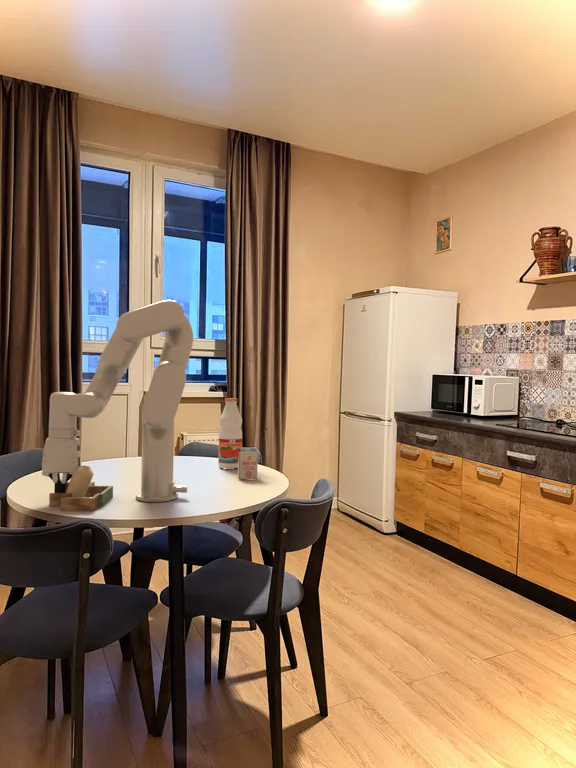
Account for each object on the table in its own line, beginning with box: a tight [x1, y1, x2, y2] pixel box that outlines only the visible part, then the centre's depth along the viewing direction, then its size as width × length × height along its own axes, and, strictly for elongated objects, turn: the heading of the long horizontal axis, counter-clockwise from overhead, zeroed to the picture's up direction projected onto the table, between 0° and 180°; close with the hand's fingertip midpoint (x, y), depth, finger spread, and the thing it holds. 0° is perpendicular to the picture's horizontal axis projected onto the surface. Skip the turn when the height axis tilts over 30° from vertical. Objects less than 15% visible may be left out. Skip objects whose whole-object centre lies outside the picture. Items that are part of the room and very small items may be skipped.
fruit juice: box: [217, 397, 243, 470], centre depth 218 cm, size 9×9×28 cm
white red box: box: [237, 451, 258, 480], centre depth 197 cm, size 4×7×10 cm, turn 100°
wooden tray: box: [48, 481, 114, 512], centre depth 160 cm, size 16×21×4 cm
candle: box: [66, 465, 94, 497], centre depth 160 cm, size 6×6×10 cm
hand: (60, 495), depth 160 cm, fingers closed
